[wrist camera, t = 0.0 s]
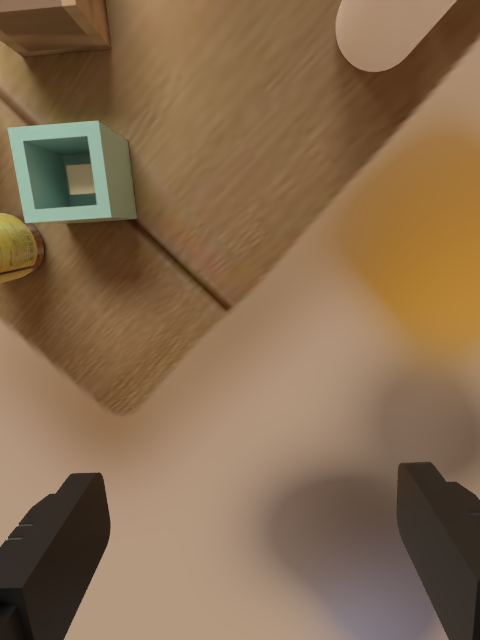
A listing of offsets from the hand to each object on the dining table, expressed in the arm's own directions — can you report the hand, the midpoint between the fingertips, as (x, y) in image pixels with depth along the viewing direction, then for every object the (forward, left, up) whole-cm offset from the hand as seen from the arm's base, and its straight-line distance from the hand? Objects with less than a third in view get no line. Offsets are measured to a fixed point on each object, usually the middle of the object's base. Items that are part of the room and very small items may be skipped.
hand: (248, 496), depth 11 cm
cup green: (-12, -14, -29) cm, 35 cm away
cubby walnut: (-27, -15, -29) cm, 43 cm away
